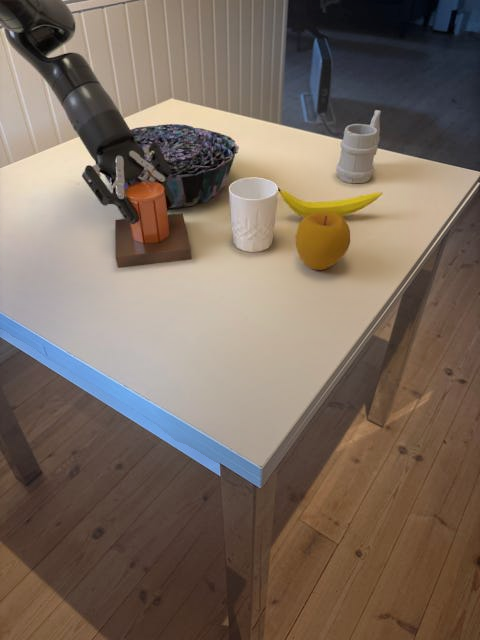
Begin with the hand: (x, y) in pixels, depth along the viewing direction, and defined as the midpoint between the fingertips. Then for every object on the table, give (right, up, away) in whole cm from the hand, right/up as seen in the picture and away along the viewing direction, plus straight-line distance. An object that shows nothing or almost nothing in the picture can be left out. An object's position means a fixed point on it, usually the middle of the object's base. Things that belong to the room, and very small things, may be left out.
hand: (153, 213), depth 79 cm
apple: (+27, -9, 0) cm, 28 cm away
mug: (+39, +14, +25) cm, 49 cm away
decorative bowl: (0, +10, +21) cm, 24 cm away
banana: (+30, +1, +11) cm, 32 cm away
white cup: (+16, -4, +5) cm, 18 cm away
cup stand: (-1, -4, +5) cm, 7 cm away
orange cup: (-1, -3, +4) cm, 5 cm away
